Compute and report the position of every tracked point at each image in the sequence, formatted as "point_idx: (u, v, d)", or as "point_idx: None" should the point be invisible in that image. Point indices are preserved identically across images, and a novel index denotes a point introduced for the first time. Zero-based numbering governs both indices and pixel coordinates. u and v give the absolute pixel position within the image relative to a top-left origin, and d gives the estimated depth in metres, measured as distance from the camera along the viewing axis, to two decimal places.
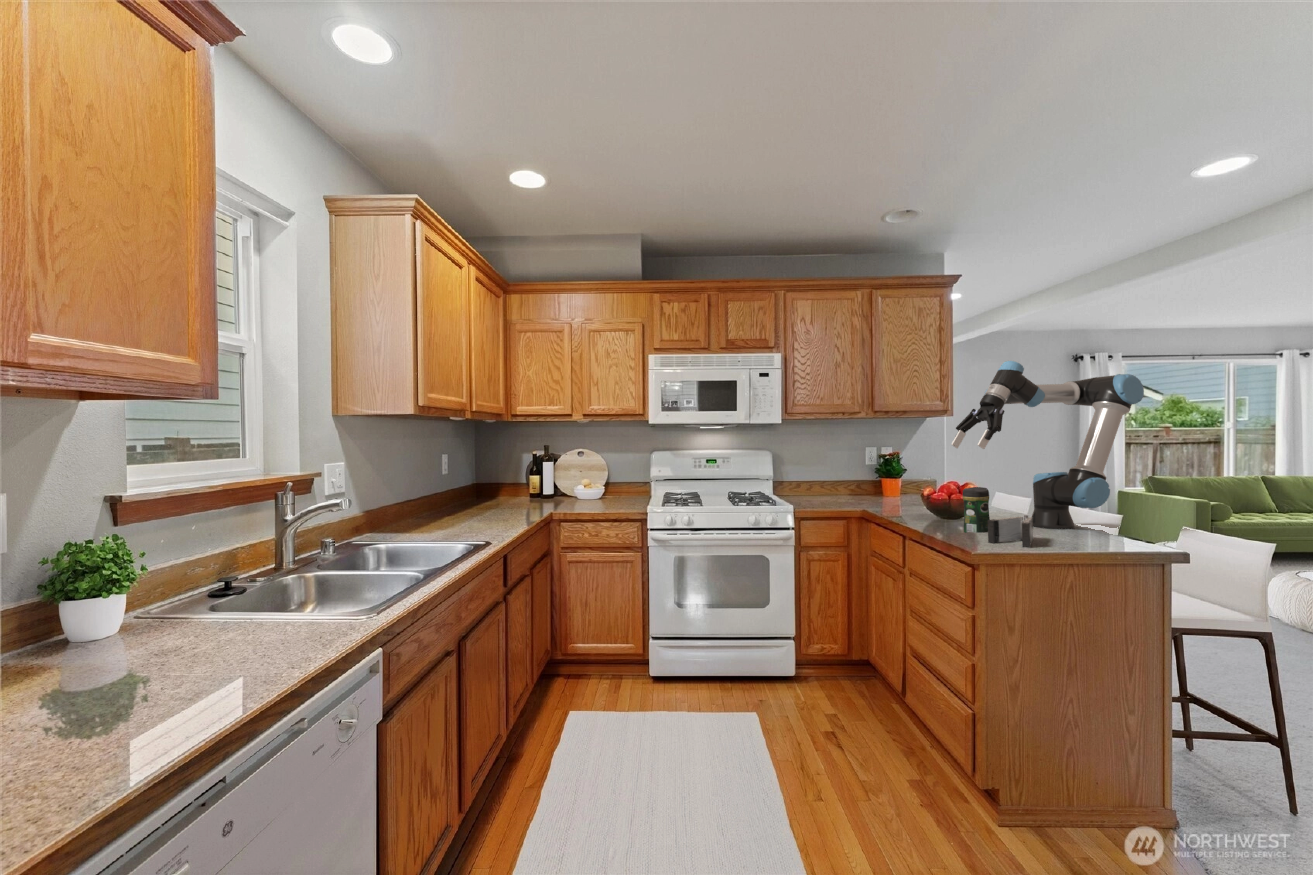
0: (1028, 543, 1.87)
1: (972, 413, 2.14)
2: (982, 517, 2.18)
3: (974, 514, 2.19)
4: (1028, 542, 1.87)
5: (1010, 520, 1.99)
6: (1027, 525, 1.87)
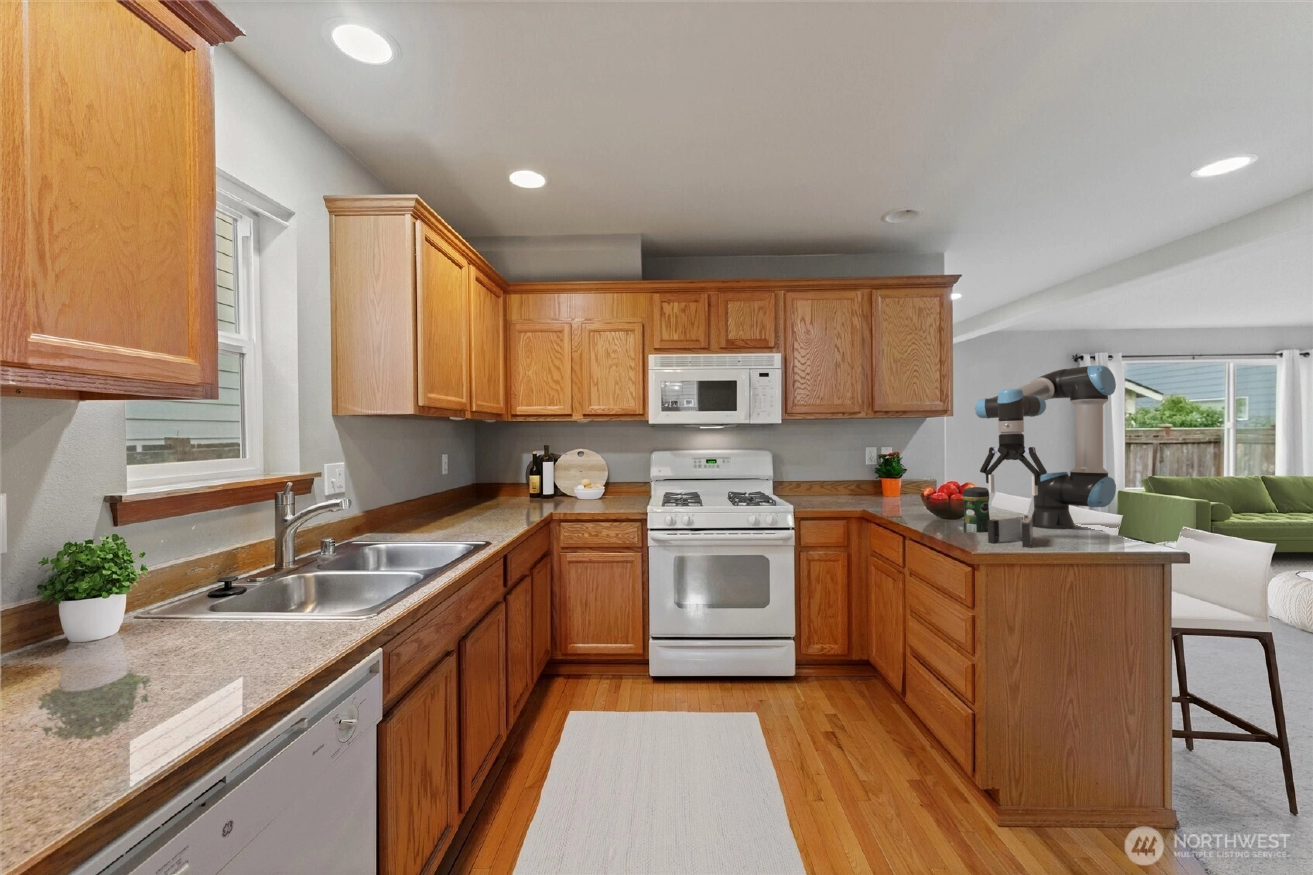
0: (1028, 543, 1.87)
1: (992, 453, 2.00)
2: (982, 517, 2.18)
3: (974, 514, 2.19)
4: (1028, 542, 1.87)
5: (1010, 520, 1.99)
6: (1027, 525, 1.87)
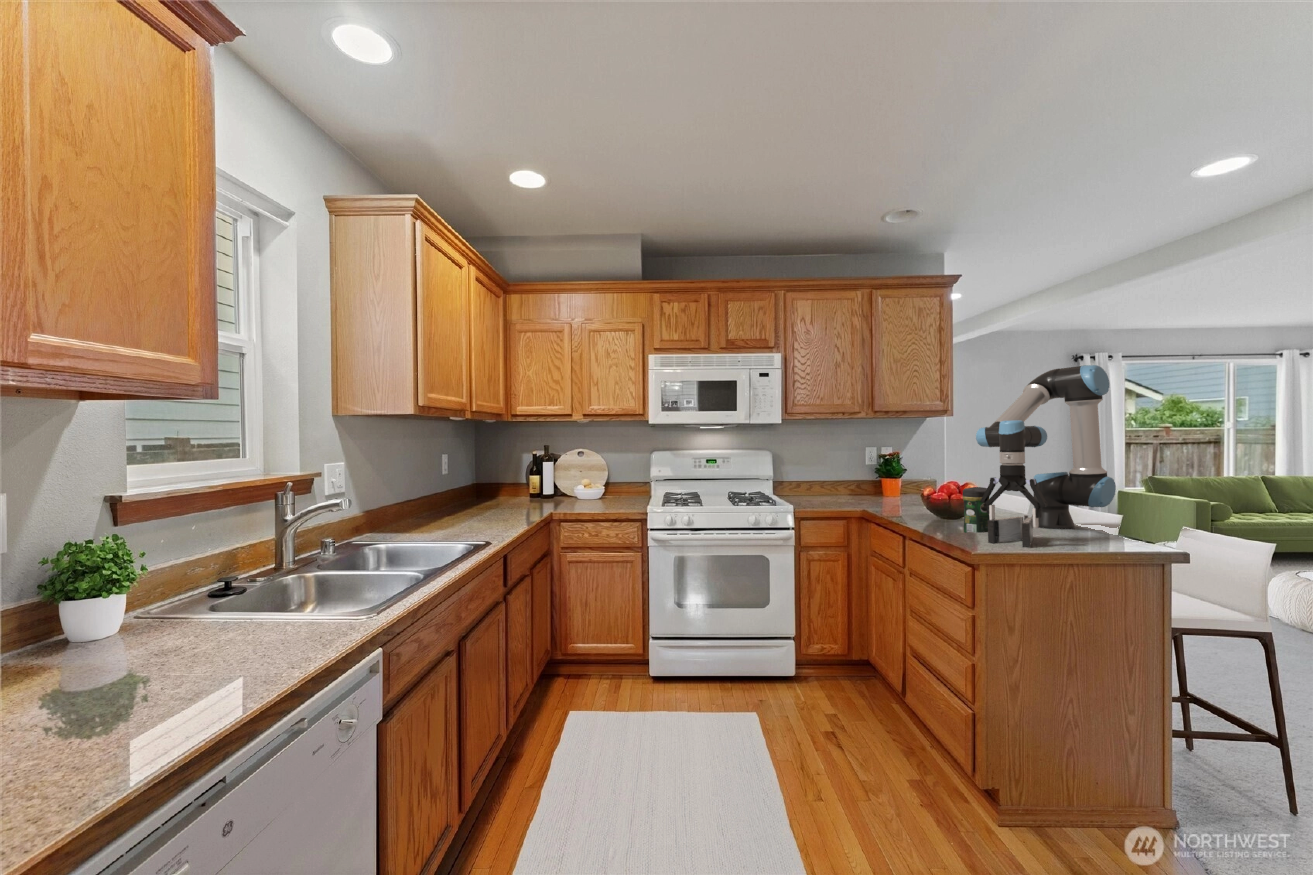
0: (1028, 543, 1.87)
1: (993, 483, 1.99)
2: (982, 517, 2.18)
3: (974, 514, 2.19)
4: (1028, 542, 1.87)
5: (1010, 520, 1.99)
6: (1027, 525, 1.87)
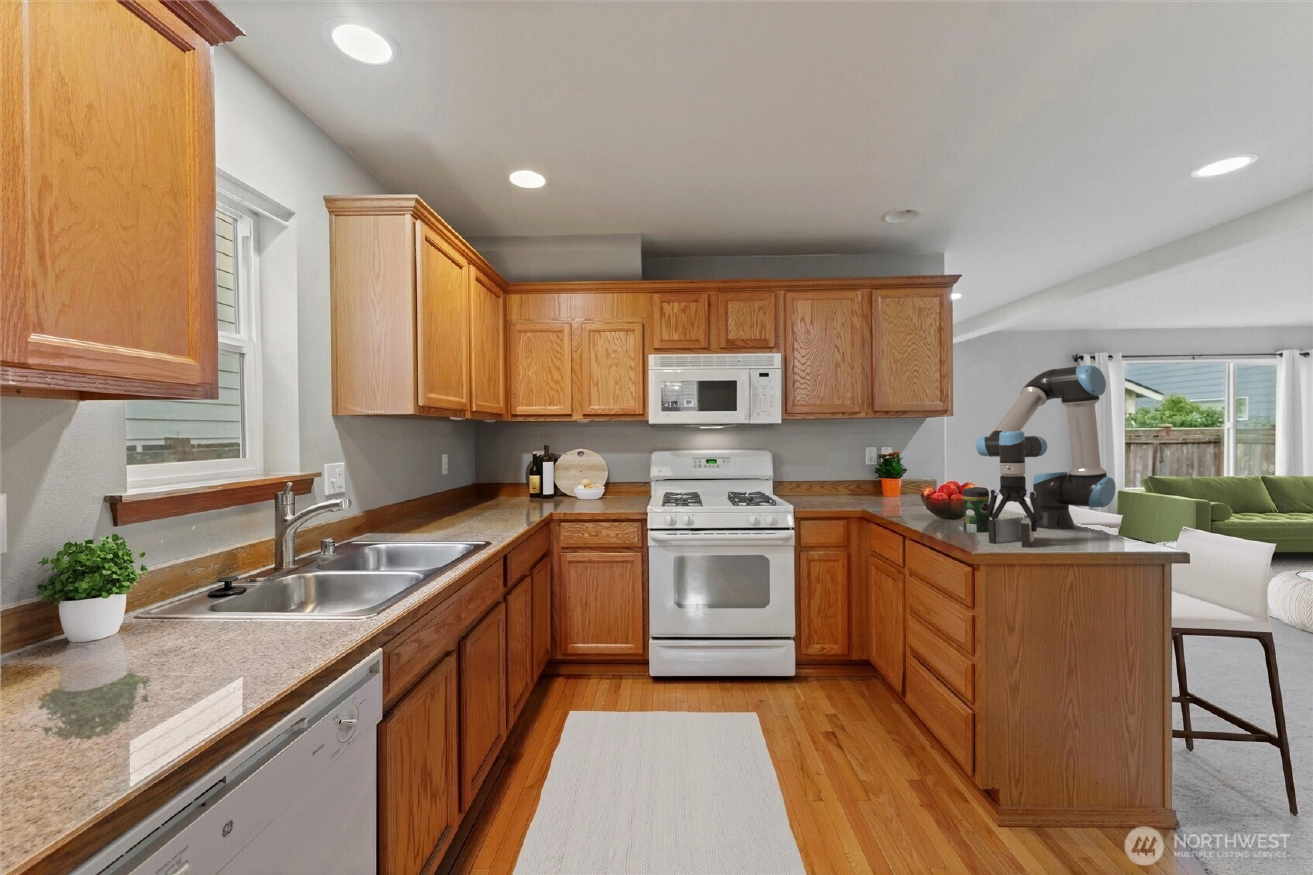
0: (1027, 543, 1.87)
1: (994, 495, 1.99)
2: (982, 517, 2.18)
3: (974, 514, 2.19)
4: (1027, 542, 1.87)
5: (1010, 520, 1.99)
6: (1026, 525, 1.88)
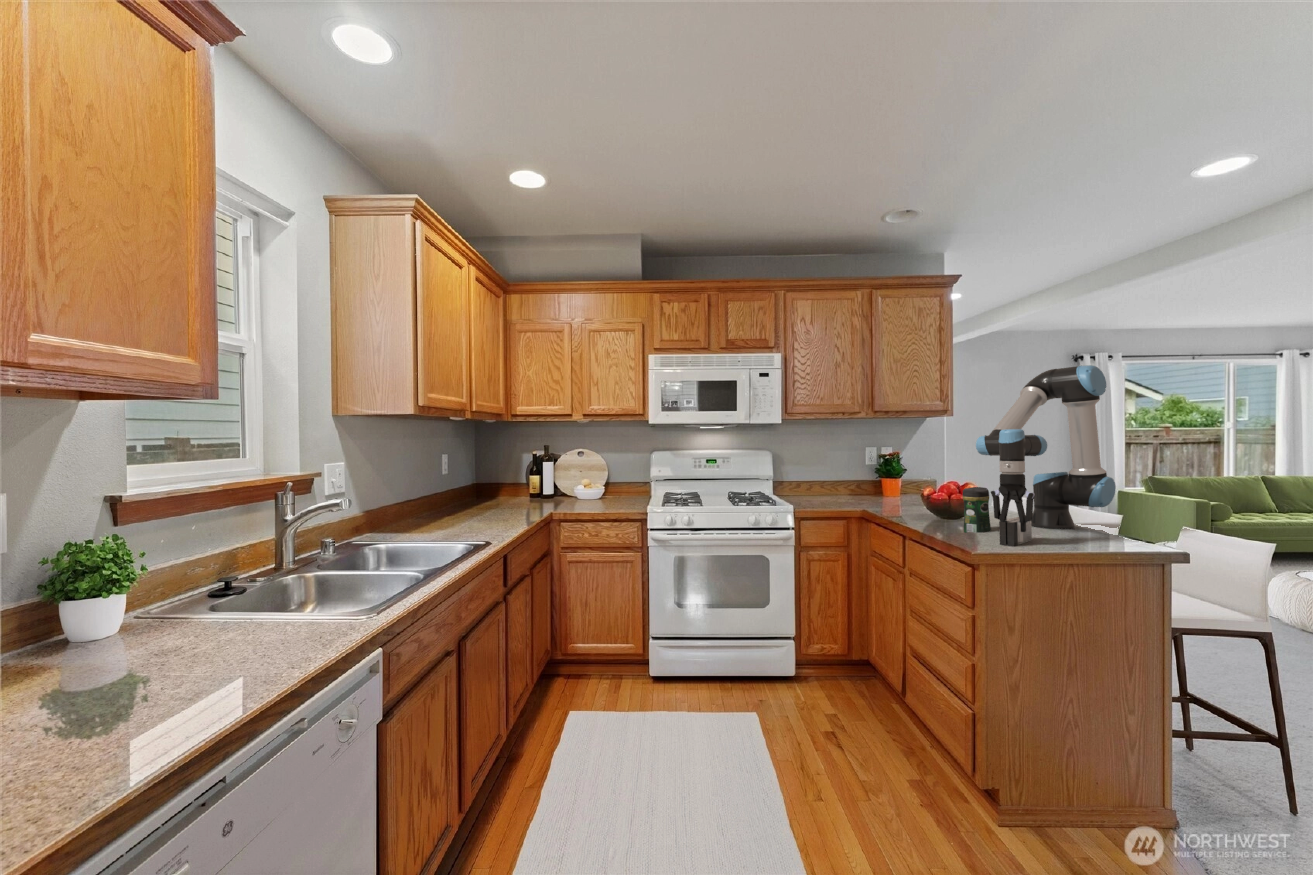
0: (1013, 542, 1.90)
1: (996, 495, 1.98)
2: (982, 517, 2.18)
3: (974, 514, 2.19)
4: (1013, 541, 1.90)
5: None
6: (1012, 524, 1.90)
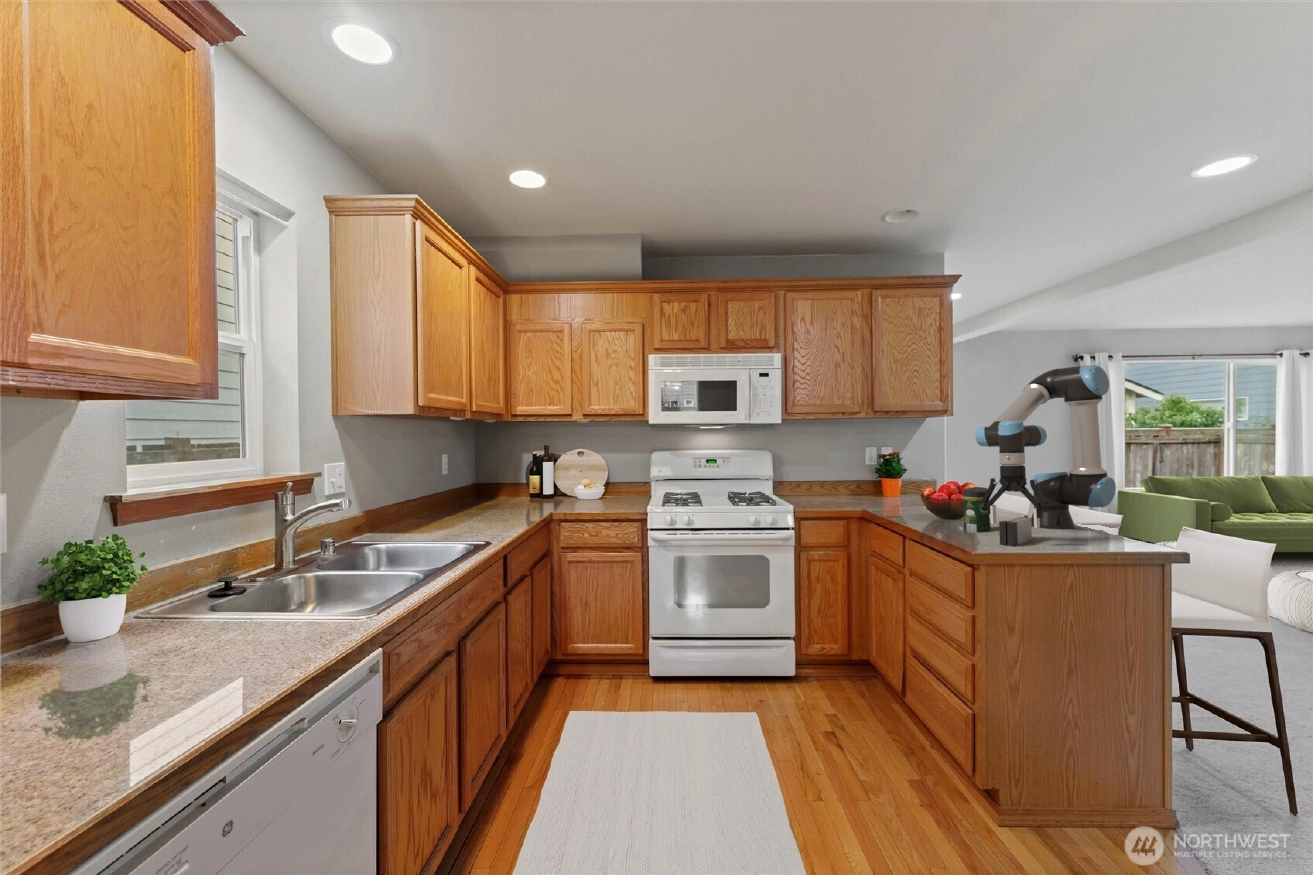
0: (1013, 542, 1.90)
1: (994, 484, 2.00)
2: (982, 517, 2.18)
3: (974, 514, 2.19)
4: (1013, 541, 1.90)
5: None
6: (1012, 524, 1.90)
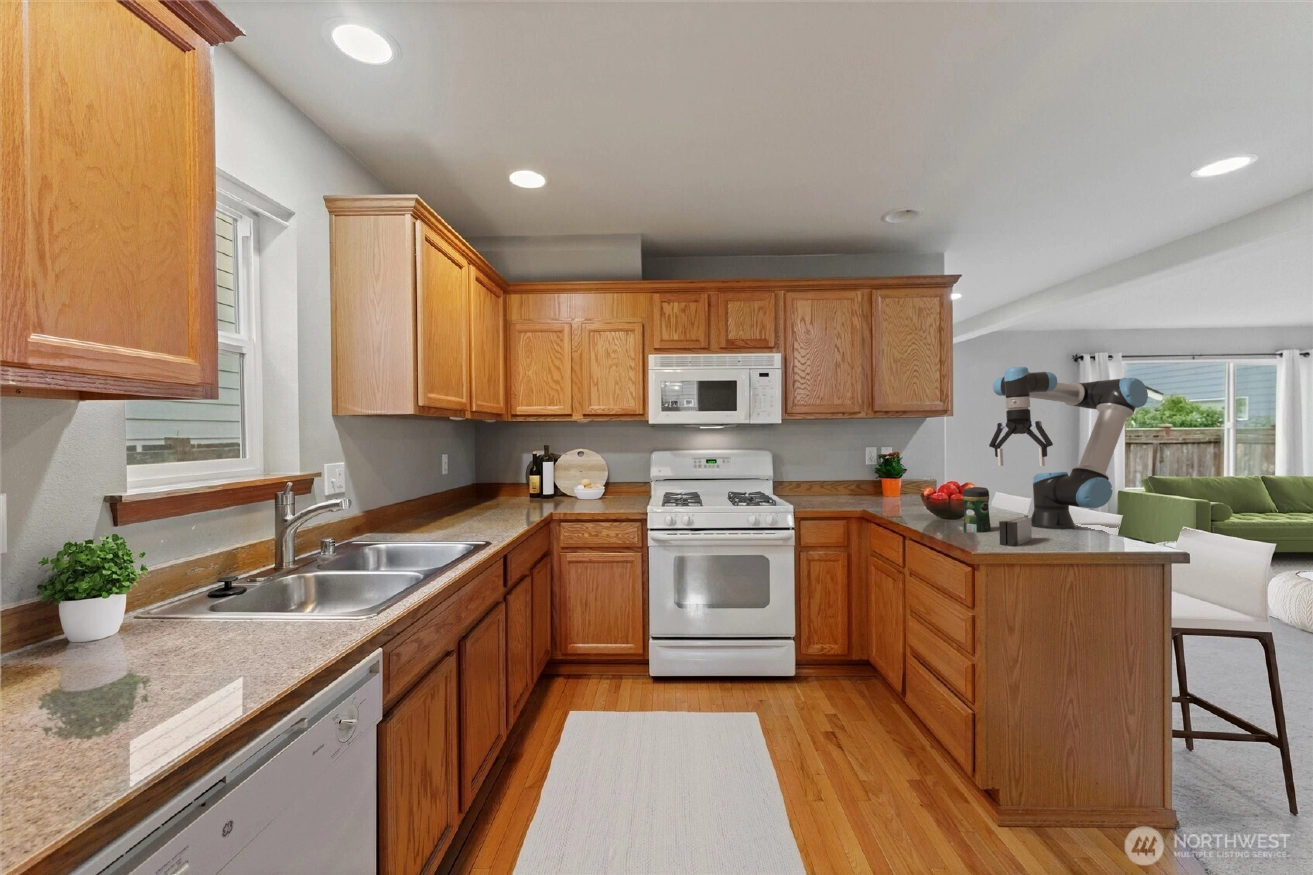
0: (1013, 542, 1.90)
1: (1000, 428, 2.12)
2: (982, 517, 2.18)
3: (974, 514, 2.19)
4: (1013, 541, 1.90)
5: None
6: (1012, 524, 1.90)
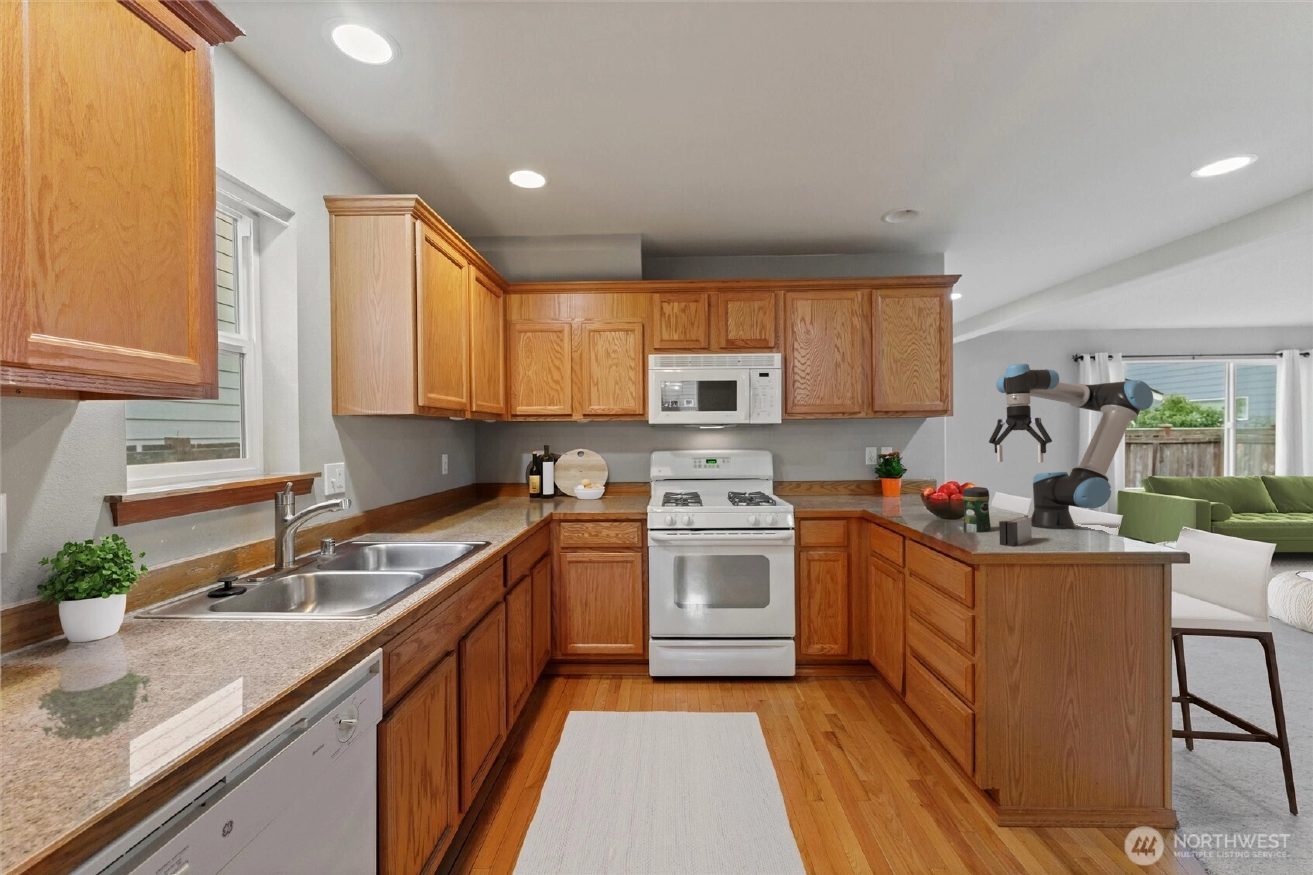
0: (1013, 542, 1.90)
1: (1000, 424, 2.13)
2: (982, 517, 2.18)
3: (974, 514, 2.19)
4: (1013, 541, 1.90)
5: None
6: (1012, 524, 1.90)
